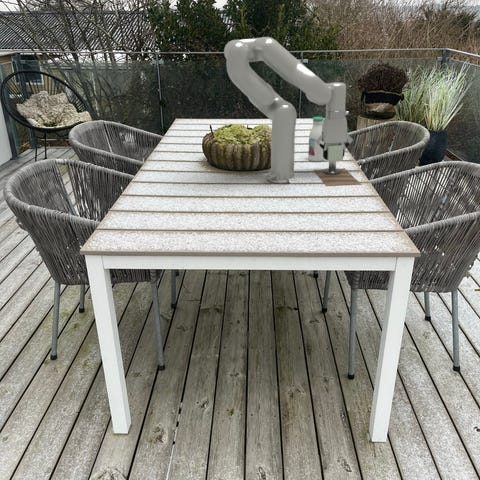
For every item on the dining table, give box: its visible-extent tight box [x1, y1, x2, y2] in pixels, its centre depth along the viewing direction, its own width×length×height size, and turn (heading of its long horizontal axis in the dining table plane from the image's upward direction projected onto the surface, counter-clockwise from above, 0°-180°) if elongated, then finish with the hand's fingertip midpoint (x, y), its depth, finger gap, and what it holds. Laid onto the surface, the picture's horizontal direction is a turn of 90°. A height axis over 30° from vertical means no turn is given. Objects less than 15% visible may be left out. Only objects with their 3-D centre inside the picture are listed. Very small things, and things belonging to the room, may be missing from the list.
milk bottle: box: [308, 116, 325, 162], centre depth 221 cm, size 8×8×20 cm
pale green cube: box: [326, 143, 344, 162], centre depth 195 cm, size 6×6×6 cm
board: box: [312, 161, 362, 187], centre depth 191 cm, size 24×14×10 cm, turn 4°
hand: (333, 158), depth 196 cm, fingers closed on pale green cube, 5 cm apart
